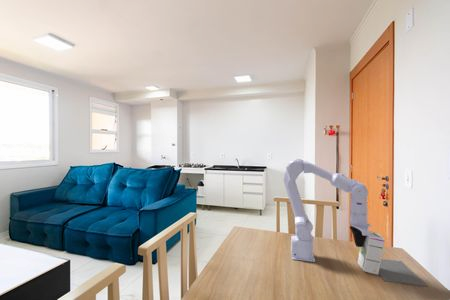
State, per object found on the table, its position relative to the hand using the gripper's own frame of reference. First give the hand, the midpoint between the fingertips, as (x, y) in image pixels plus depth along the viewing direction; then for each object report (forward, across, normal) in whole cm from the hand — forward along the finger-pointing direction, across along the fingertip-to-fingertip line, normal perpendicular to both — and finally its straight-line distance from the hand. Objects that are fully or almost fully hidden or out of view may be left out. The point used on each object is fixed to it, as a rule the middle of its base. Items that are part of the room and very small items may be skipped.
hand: (359, 246), depth 84 cm
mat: (+10, +2, -13) cm, 16 cm away
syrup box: (+9, 0, -3) cm, 9 cm away
